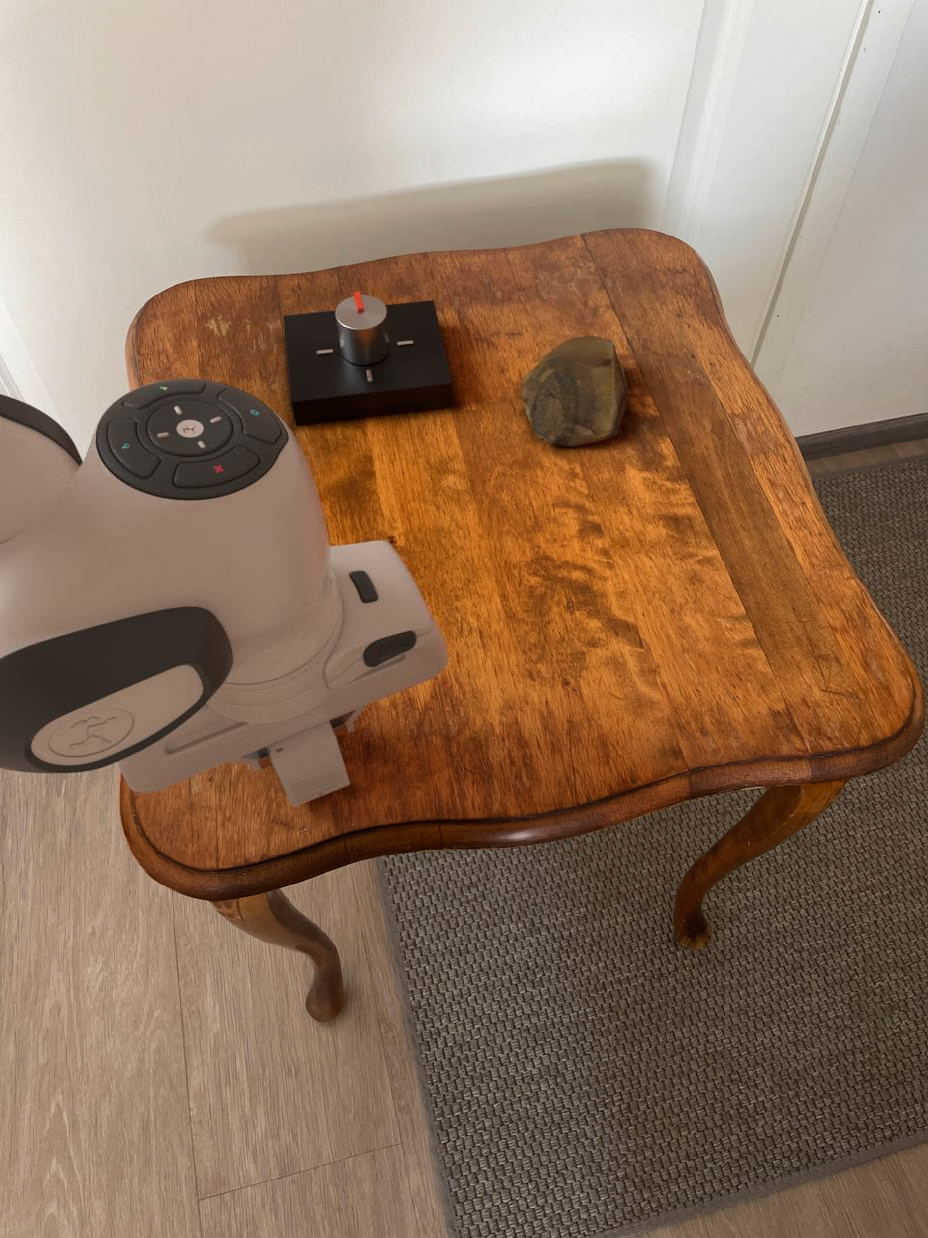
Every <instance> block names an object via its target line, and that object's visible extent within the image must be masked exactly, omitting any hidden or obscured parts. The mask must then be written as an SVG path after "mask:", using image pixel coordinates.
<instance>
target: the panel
mask: <svg viewBox="0 0 928 1238" xmlns="http://www.w3.org/2000/svg"><path fill="white" fill-rule="evenodd" d="M384 305H385V306H386V309H387V319H388V330H389V342H390V349H389V352H388V354H387V355H386V357H385V358H384V359H382V360H381V361H379V362H377V363H374V364H370V365H358V364H354V363H351V362H349V361H348V360H346V359H345V358H344V356H343V355H342V353H341V349H340V343H339V336H338V329H337V322H336V315H335V312H336V309H335V310H326V311H317V312H307V313H299V314H297V313H296V314H289V315H283V317H282V318H283V319H282V320H283V328H284V329H283V331H284V339H285V353H286V363H287V366H286V367H287V375H288V376H287V377H288V388H289V399H290V406H291V410H292V415H293V420H294V424H295V426H298V427H299V426H306V425H314V424H323V423H332V422H333V423H334V422H341V421H348V420H358V419H366V418H367V419H368V418H374V417H384V416H393V415H400V414H409V413H418V412H419V413H420V412H427V411H437V410H444V409H452V408H453V382H452V381H453V380H452V377H451V373H450V368H449V363H448V358H447V353H446V349H445V345H444V341H443V340H444V339H443V335H442V331H441V327H440V321H439V316H438V312H437V307H436V302H435V300H434V299H432V300H431V299H429V300H421V301H420V300H419V301H411V302H402V303H392V304H384Z"/></svg>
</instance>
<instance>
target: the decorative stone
mask: <svg viewBox="0 0 928 1238" xmlns="http://www.w3.org/2000/svg"><path fill="white" fill-rule="evenodd" d="M616 350H617V349H616V346H615V345H614V341H613V340H612V339H608V338H604V337H601V336H597V335H583V336H575V337H573V338H571V339H568V340H565V341H564V342H562V343H560V344H558V345H557V346H556V347H554V348H552V350H551V351H550V352H548V353H546V354H543V355H542V356H541V357H540V358H539V361H538V363H537V364H536V365H535V366H534V367H533V368H532V369H530V370H529V371H528V372H527V373H526V374H525V375H524V377H523V378H522V380H521V387H522V390H521V392H522V398H523V399H522V400H523V402H524V406H525V414H526V416H527V418H528V421H529V423H530V426H531V428H532V429H533V433H534V435H535V436H536V437H538V438H540V439H543V441H544V442H545V443H547V444H548V445H549V446H552V447H554V448H559V447H560V448H561V447H570V448H571V447H577V446H583V445H588V444H592V443H597V442H600V441H604V440H607V439H610V438H614V437H616V436H618V435H619V433H620V432H621V428H622V419H623V416H624V415H625V413H626V409H627V391H628V382H627V381H628V380H627V377H626V374H625V370H624V366H623V365H622V363H621V362H620V360H619V358H618V355H617V351H616Z"/></svg>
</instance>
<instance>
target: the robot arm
mask: <svg viewBox="0 0 928 1238" xmlns="http://www.w3.org/2000/svg"><path fill="white" fill-rule="evenodd" d="M449 662H450V661H449V649H448V645H447V642H446V639H445V637H444V635H443V633H442V631H441V629H440V627H439V625H438V623H437V621H436V619H435V617H434V615H433V613H432V611H431V609H430V608H429V606H428V604H427V602H426V600H425V599H424V597H423V595H422V592H421V590H420V588H419V586H418V584H417V582H416V580H415V579H414V577H413V574H412V573H411V571H410V570H409V568H408V567H407V565H406V564H405V562H404V560H403V559H402V557H401V556H400V554H399V553H398V552H397V551H396V549H395V548H394V546H393V545H392V544H391V542H389V541H387V540H383V539H382V540H370V541H365V542H359V543H358V542H357V543H349V544H341V545H331V541H330V535H329V532H328V526H327V522H326V517H325V513H324V510H323V505H322V502H321V498H320V495H319V492H318V489H317V484H316V482H315V479H314V477H313V473H312V470H311V467H310V465H309V462H308V460H307V458H306V455H305V453H304V451H303V449H302V447H301V444H300V442H299V440H298V439H297V437H296V436H295V434H294V433H293V430H291V428H290V427H289V425H288V424H287V423H286V422H285V420H284V419H282V417H281V416H280V415H279V414H277V413H276V411H275V410H273V409H272V408H271V407H270V406H269V405H267V403H265V402H264V401H262V400H261V399H260V398H258V397H256V396H255V395H252V394H251V393H249V392H247V391H245V390H243V389H240V388H238V387H235V386H232V385H230V384H226V383H223V382H219V381H214V380H209V379H201V378H172V379H165V380H159V381H154V382H152V383H147V384H145V385H142V386H140V387H139V386H138V387H137V388H135V389H132V390H131V391H129V392H127V393H125V394H124V395H122V396H120V397H119V398H118V399H116V400H115V401H114V402H113V403H111V404H110V405H109V406H108V408H106V409H105V410H104V412H103V413H102V414H101V417H100V418H99V419H98V422H97V423H96V426H95V428H94V431H93V434H92V437H91V440H90V444H89V447H88V450H87V452H86V455H85V457H84V459H82V456H81V454H80V452H79V450H78V448H77V445H76V444H75V442H74V440H73V439H72V438H71V435H69V432H67V430H66V429H64V427H62V426H61V424H60V423H59V422H57V421H56V419H54V418H52V417H51V416H50V415H49V414H47V413H45V412H44V411H42V410H40V409H39V408H37V407H35V406H33V405H31V404H29V403H27V402H24V401H21V400H19V399H16V398H13V397H11V396H8V395H5V394H1V393H0V769H3V770H7V771H13V772H21V773H28V774H29V773H33V774H76V773H77V774H78V773H86V772H91V771H95V770H98V769H102V768H106V767H108V766H111V765H113V764H116V763H117V765H118V769H119V771H120V773H121V775H122V777H123V779H124V781H125V783H126V785H127V786H128V788H129V789H130V790H131V791H132V792H133V793H141V794H153V793H157V792H160V791H162V790H164V789H168V788H169V787H171V786H174V785H177V784H179V783H181V782H184V781H186V780H189V779H191V778H193V777H196V776H198V775H201V774H203V773H205V772H209V771H211V770H213V769H216V768H218V767H220V766H223V765H225V764H227V763H230V764H240V765H246V766H247V765H250V768H251V769H252V770H253V772H254V773H256V772H259V771H261V770H264V769H266V768H268V767H270V766H273V764H272V762H271V759H270V755H269V752H268V749H267V746H269V745H272V744H274V743H276V742H279V741H281V740H284V739H286V738H289V737H291V736H293V735H296V734H298V733H301V732H303V731H306V730H308V729H310V728H313V727H315V726H318V725H320V724H323V723H325V722H327V721H330V722H331V725H332V727H333V730H334V732H335V735H336V737H337V738H340V737H342V736H345V735H347V734H350V733H353V732H355V731H356V729H355V724H354V722H355V721H356V720H357V718H358V717H359V716H360V715H361V714H362V712H363V711H364V710H365V709H366V707H367V706H369V705H371V704H373V703H375V702H379V701H381V700H383V699H386V698H388V697H390V696H393V695H396V694H397V693H400V692H403V691H405V690H407V689H410V688H413V687H415V686H418V685H420V684H422V683H425V682H427V681H430V680H432V679H435V678H436V677H438V676H439V675H440V674H441V673H442V672H443V671H444V670H445V669H446V668H447V667H448V665H449Z"/></svg>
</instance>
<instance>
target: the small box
mask: <svg viewBox="0 0 928 1238" xmlns="http://www.w3.org/2000/svg"><path fill="white" fill-rule="evenodd" d="M339 745H340V744H339V742H338V737H336V735H335V732H334V730H333V727H332V725H331V722H330V721H327V722H325V723H323V724H320V725H318V726H315V727H313V728H310V729H308V730H306V731H303V732H301V733H298V734H296V735H293V736H291V737H289V738H286V739H284V740H281V741H279V742H276V743H274V744H272V745H269V746H267V749H268V752H269V755H270V759H271V762H272V764H273V765H272V766H273V768H274V770H275V772H276V775H277V777H278V779H279V781H280V783H281V785H282V788H283V790H284V792H285V794H286V796H287V798H288V800H289V802H290V804H291V806H292V807H293V808H296V807H298V806H300V805H303V804H306V803H309V802H311V801H313V800H316V799H318V798H320V797H323V796H325V795H328V794H330V793H333V792H336V791H338V790H340V789H343V788H345V787H348V786H350V785H351V782H350V779H349V778H350V777H349V775H348V771H347V769H346V765H345V762H344V761H345V760H344V758H343V755H342V751H341V748H340V746H339Z"/></svg>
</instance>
